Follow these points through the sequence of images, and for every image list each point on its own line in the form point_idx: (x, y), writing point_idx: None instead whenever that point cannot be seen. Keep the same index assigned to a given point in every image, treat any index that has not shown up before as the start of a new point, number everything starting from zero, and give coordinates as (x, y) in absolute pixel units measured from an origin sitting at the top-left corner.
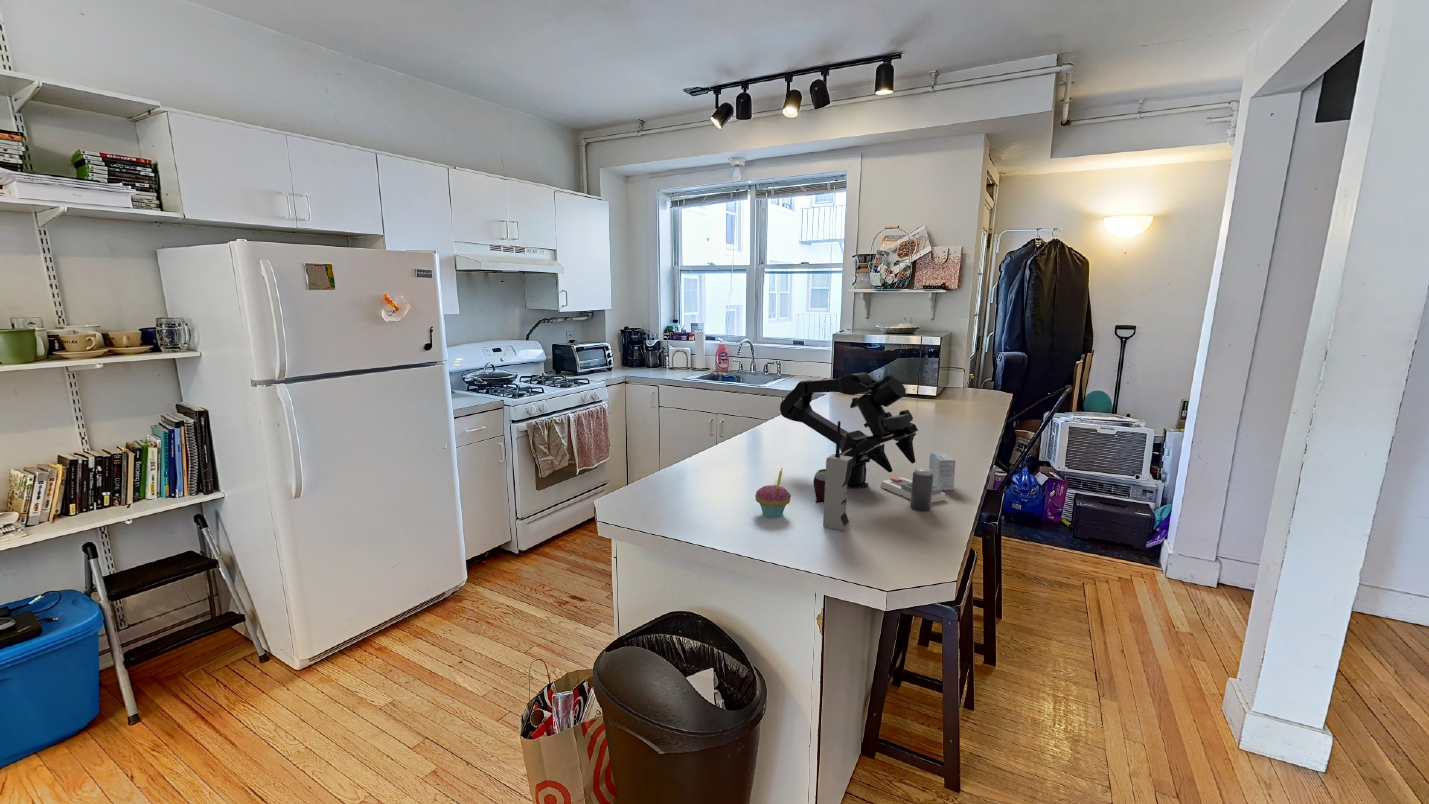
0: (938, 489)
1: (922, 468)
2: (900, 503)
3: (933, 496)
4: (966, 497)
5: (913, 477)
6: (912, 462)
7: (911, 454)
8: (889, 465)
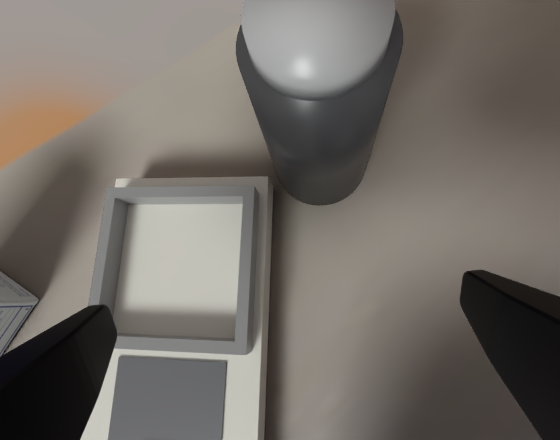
0: (133, 187)
1: (278, 51)
2: (358, 250)
3: (198, 177)
4: (28, 174)
5: (391, 82)
6: (110, 331)
7: (50, 359)
8: (530, 293)
